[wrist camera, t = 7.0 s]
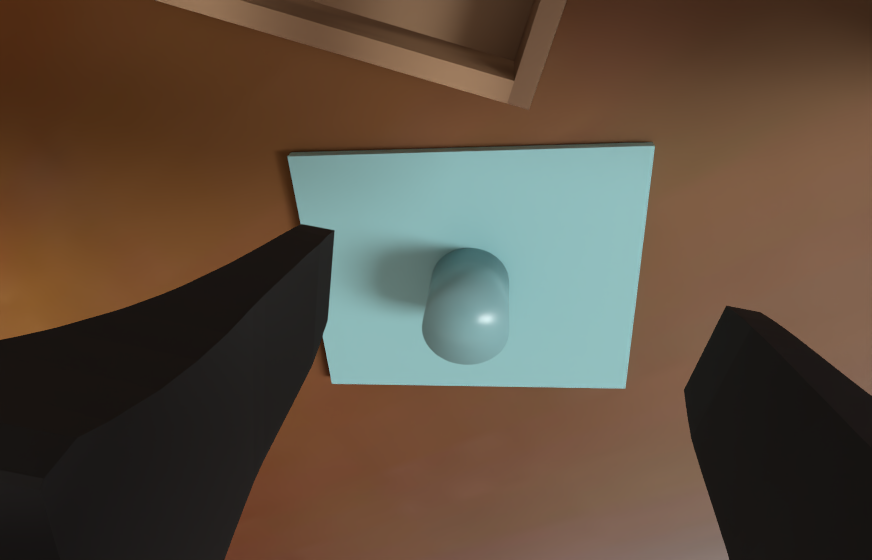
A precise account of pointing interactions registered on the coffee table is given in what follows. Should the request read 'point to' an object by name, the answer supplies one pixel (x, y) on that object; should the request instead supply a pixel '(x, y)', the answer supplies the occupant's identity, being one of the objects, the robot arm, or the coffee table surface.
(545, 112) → the coffee table surface
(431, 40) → the crate
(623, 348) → the lid
